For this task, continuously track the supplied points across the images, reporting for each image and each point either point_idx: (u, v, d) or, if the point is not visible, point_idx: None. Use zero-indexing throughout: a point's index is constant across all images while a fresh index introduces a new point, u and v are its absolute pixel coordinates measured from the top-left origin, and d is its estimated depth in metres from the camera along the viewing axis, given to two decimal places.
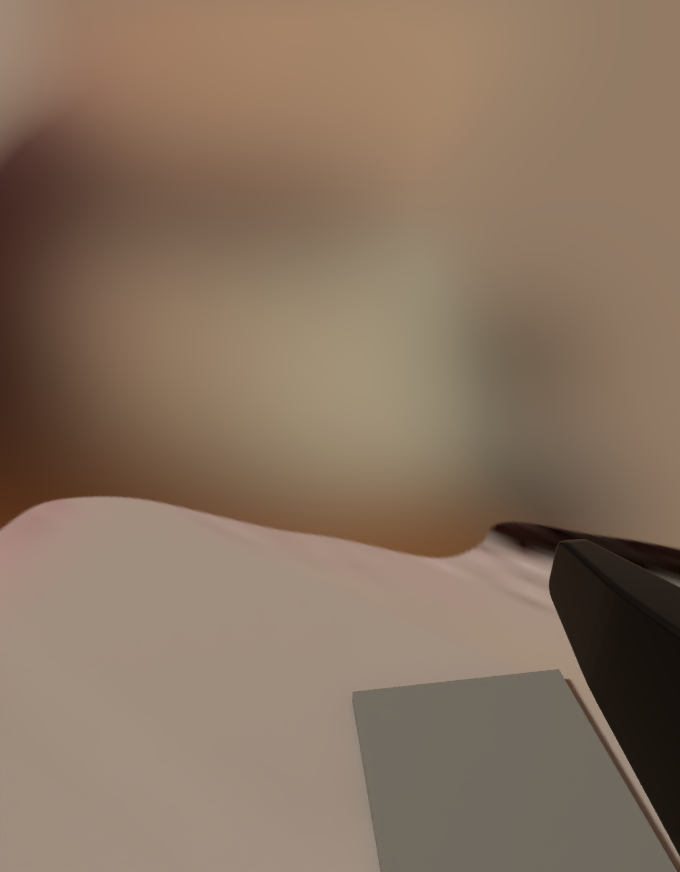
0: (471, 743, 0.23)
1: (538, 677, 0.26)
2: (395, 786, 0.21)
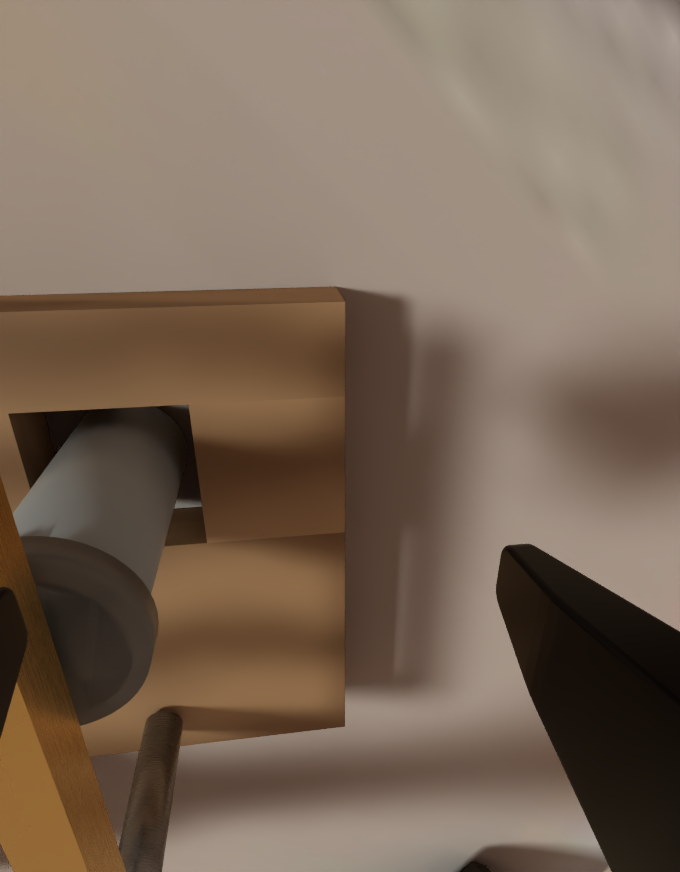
0: None
1: None
2: None
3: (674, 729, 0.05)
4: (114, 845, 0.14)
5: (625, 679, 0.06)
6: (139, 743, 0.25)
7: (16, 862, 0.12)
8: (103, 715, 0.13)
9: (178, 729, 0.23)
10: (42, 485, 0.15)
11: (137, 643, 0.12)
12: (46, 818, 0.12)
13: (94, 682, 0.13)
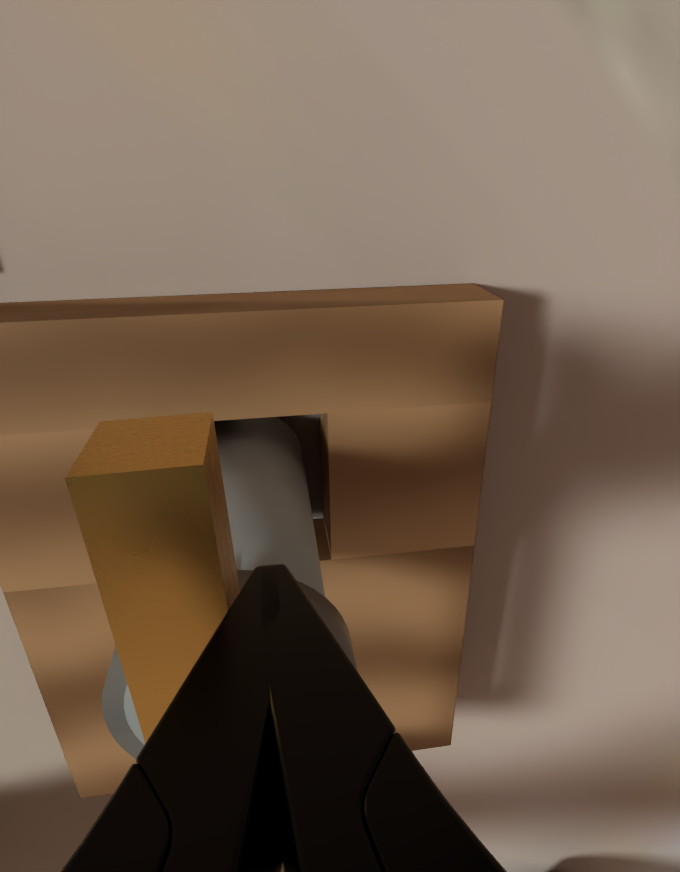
0: None
1: None
2: None
3: (278, 778, 0.05)
4: None
5: None
6: None
7: None
8: None
9: None
10: None
11: None
12: None
13: None
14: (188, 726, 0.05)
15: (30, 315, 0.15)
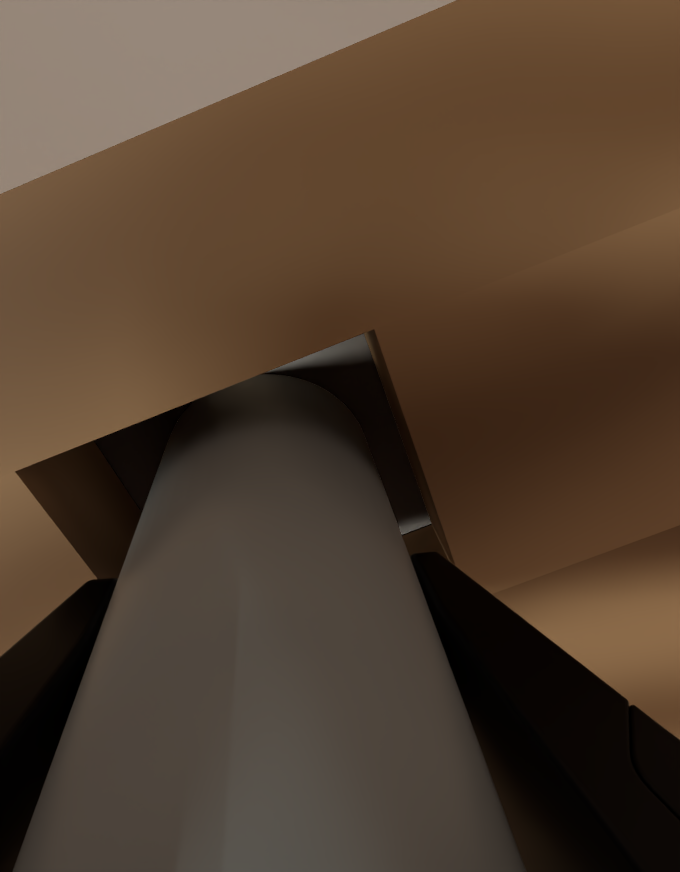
0: None
1: None
2: None
3: (526, 748, 0.05)
4: None
5: (491, 694, 0.06)
6: None
7: None
8: None
9: None
10: (114, 633, 0.05)
11: None
12: None
13: None
14: None
15: None
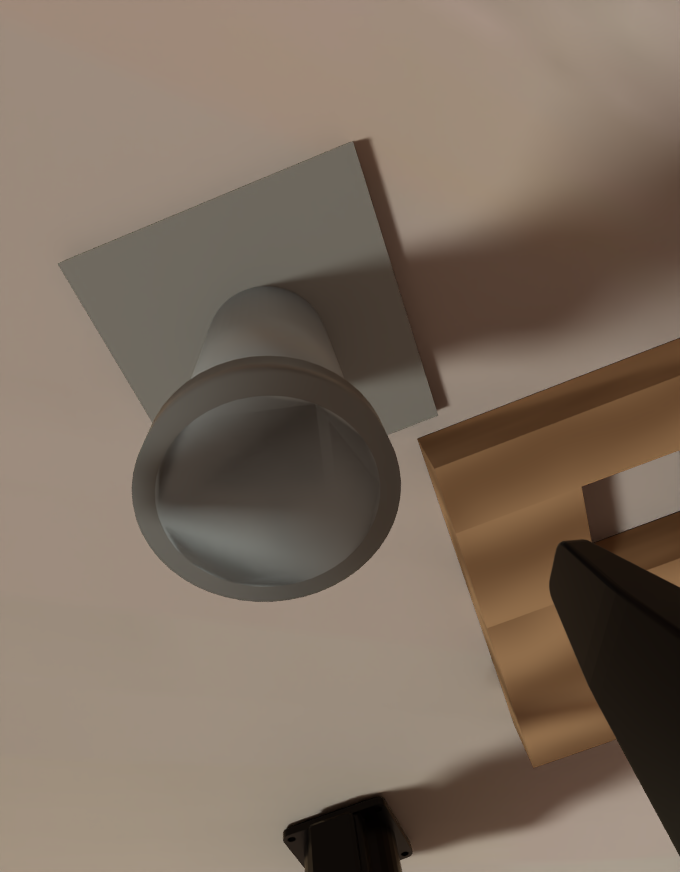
0: None
1: (321, 167, 0.17)
2: (156, 374, 0.19)
3: None
4: None
5: None
6: None
7: None
8: (361, 563, 0.11)
9: None
10: (205, 356, 0.13)
11: (380, 455, 0.10)
12: None
13: (343, 521, 0.11)
14: None
15: (499, 433, 0.20)
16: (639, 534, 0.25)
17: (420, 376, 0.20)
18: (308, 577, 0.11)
